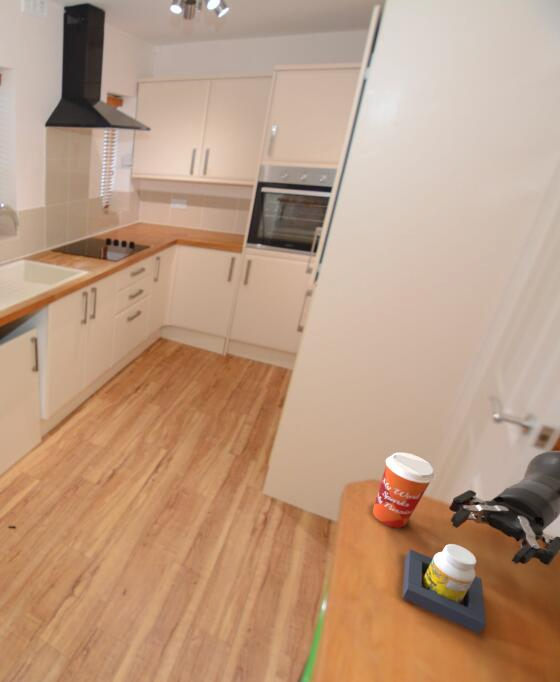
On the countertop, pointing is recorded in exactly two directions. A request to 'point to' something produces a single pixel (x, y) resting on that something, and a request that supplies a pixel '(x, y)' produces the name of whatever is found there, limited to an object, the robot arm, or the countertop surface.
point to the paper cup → (402, 488)
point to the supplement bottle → (450, 573)
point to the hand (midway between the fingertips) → (484, 540)
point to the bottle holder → (463, 615)
